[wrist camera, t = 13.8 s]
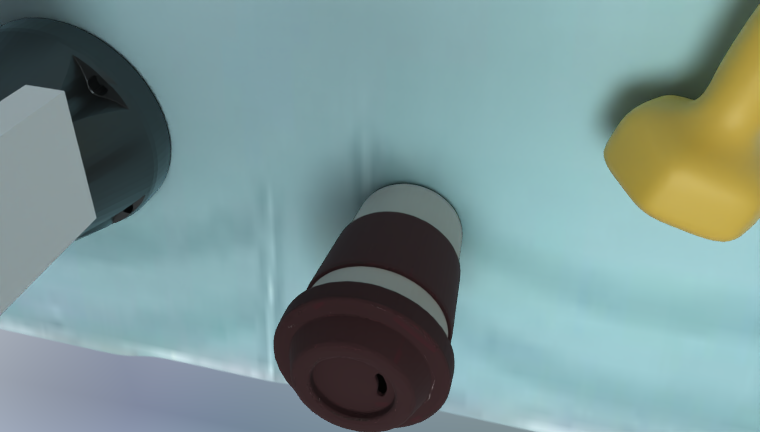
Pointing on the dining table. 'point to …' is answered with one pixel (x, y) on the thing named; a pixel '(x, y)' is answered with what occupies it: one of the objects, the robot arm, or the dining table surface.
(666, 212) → the dumbbell
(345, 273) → the coffee cup
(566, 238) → the dining table surface
